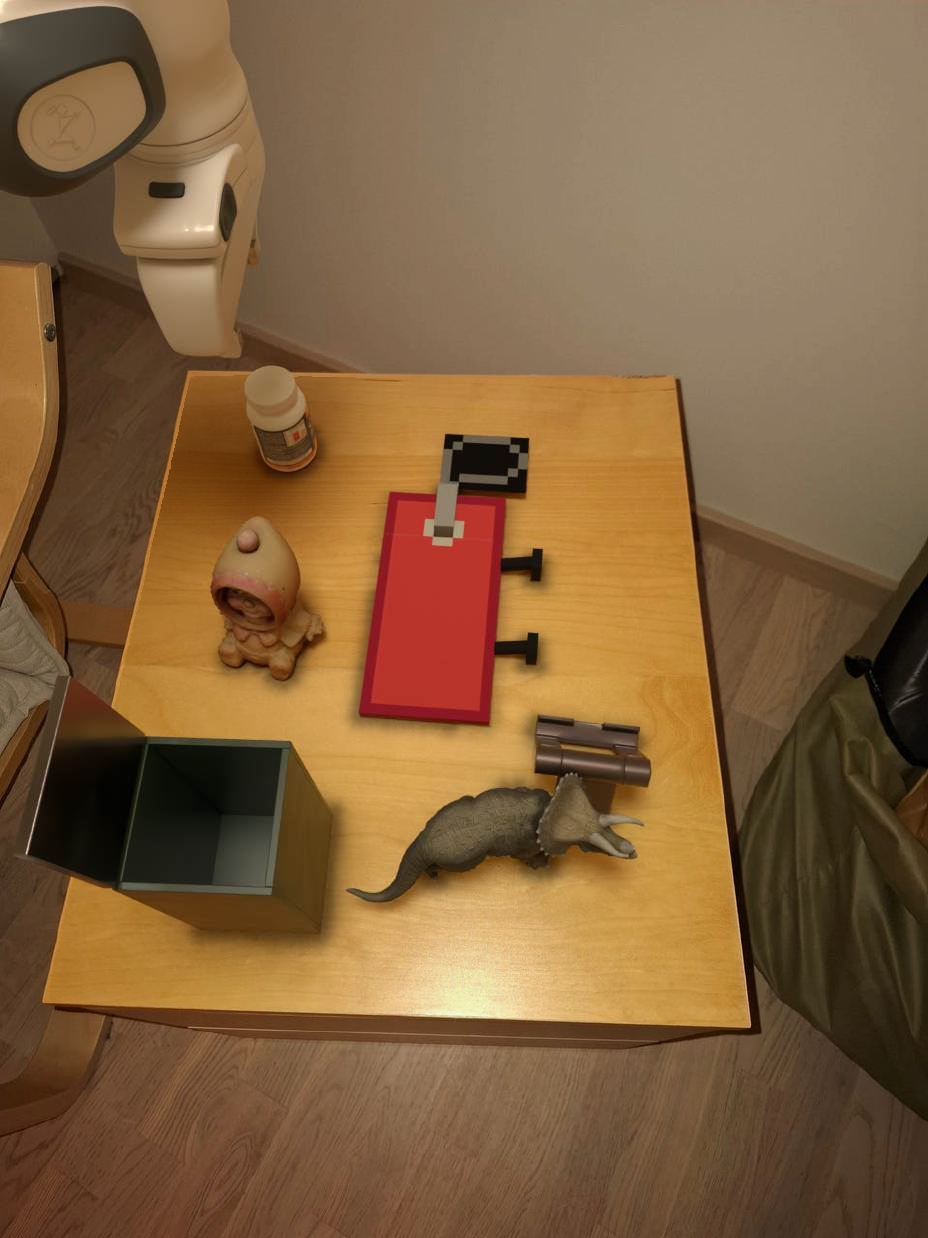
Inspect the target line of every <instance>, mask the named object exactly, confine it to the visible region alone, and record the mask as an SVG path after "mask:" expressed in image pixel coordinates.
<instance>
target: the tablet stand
mask: <svg viewBox="0 0 928 1238" xmlns="http://www.w3.org/2000/svg"><path fill="white" fill-rule="evenodd" d="M640 731H641V726H638V725H637V726H636V725H628V724H620V723H612V722H603V723H597V722H590V721H589V722H588V721H581V720H575V719H574V718H572V717H563V716H555V715H548V714H537V717H536V723H535V733H534V742H535V746H536V748H535V758H534V767H533V774H536V775H545V776H551V777H556V780H555V786H554V791H553V793H554V792H555V789H556V787H557V786H558V783H559V781H560V779H561V778H563V777H564V776H565V775H566V774H568V775H569V774H570V773H573V774H574V775H575V774H576V773H577V775H578V777H579V778H580V777H582V782H583V784H584V785H586V792H587V794H588V795H589V796H590V797H591V798H592V799H591V801H590V803H591V805H592V807H593V808H594V809H595V810H596V811H597V812H598V813H602V814H604V815H605V814H610V813H611V809H612V806H613V801H614V797H615V794H616V789H617V786H618V785H623V786H630V787H639V788H646V789H647V788H648V787H649V785H650V781H651V778H652V773H653V771H652V762H651V759H650V758H648V756H647V755H646V754H645V753H643V752H642V751H640V750H639V748H638V740H639V733H640ZM561 743H564V744H566V743H567V744H573V745H582V746H589V747H597V748H604V749H605V748H606V749H612V750H614V751H615V752H616V753H617V754H618V755H616V754H610V753H601V752H594V751H586V750H579V749H578V750H577V749H570V748H563V747H562V745H561Z"/></svg>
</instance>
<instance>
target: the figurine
mask: <svg viewBox="0 0 928 1238" xmlns="http://www.w3.org/2000/svg"><path fill="white" fill-rule="evenodd" d="M297 559H298V558H297V557H296V554H295V553H294V550H293V549H292V547H291V545H290V544H289V543H288V541H287V539H285V536H284V535H282V533H281V532H280V531H279V529H278V528H277V527H276V526H275V525H274V524H273V523H272V521H270V520H269V519H267V518H265V517H263V516H257V515H256V516H252V517H250V518H249V519H248V520H246V521H244V523H243V524H241V525H240V527H239V528H238V529H237V530H236V531H235V532H234V533H233V534H232V536H231V538H230V539H229V540H228V542H227V544H226V545H225V547H224V548H223V551H222V552H221V553H220V555H218V557H217V559H216V562H215V564H214V568H213V571H212V572H211V576H212V578H211V582H210V585H209V588H210V593H211V598H212V600H213V603H214V606H216V608H217V609H218V610H219V615H221V616H224V617H226V619H225V620H224V625H223V629H225V631H226V635H225V637H223V638H222V642H221V643H220V644H219V646H218V649H217V654H218V657H219V659H220V660H221V661H222V662H223V663H224V664H226V665H227V666H228V667H231V668H237V667H241V666H243V665H245V664H247V663H246V662H247V661H250V662H252V663H254V664H257V665H263V666H268V671H269V673H270V675H271V676H272V677H273V678H274V679H275V680H276V681H280V682H284V681H286V680H287V679H289V677H291V675H292V673H293V671H294V668H295V666H296V664H297V658H298V656H299V655H300V654H301V652H302V650H303V646H304V643H305V642H306V641H309V642H312V641H314V638H315V637H316V636H321V635H322V634H323V632H324V629H325V627H324V622H323V620H321V619H322V616H321V615H319V614H315V613H314V614H311V613H309V612H308V611H305V609H304V607H303V605H302V604H301V602H300V600H299V599H298V598H297V594H298V592H299V590H300V587H301V583H302V580H301V570H300V565H299V562H298V560H297Z"/></svg>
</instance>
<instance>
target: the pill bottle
mask: <svg viewBox="0 0 928 1238" xmlns="http://www.w3.org/2000/svg"><path fill="white" fill-rule="evenodd" d="M243 391H244V396H245V398H246V405H245V411H246V416H247V420H248V423H249V425H250V428H251V431H252V433H253V436H254V439H255V441H256V445H257V448H258V450H259V452H260V455H261V457H262V459H263V462H264V463H266V465H267V466H269V467H270V468H271V469H273V470H276V471H279V472H285V473H289V472H290V473H291V472H295V471H299V470H301V469H303V468H305V467H306V466H308V465H309V464H310V463H311V462H312V461H313V460H314V458H315V456H316V454H317V450H318V441H317V437H316V433H315V429H314V425H313V421H312V418H311V415H310V411H309V408H308V404H307V400H306V396H305V394H304V392H303V391H302V390H301V389H300V387H298V386H297V383H296V380H295V377H294V375H293V374H292V373H291V372H290V371H289V370H288V369H286V368H285V367H282V366H279V365H266V366H265V365H264V366H262V367H260V368H257V369H255V370H254V371H252V372H251V373H250V374H249V375H248V376H247V377H246V379H245V381H244V386H243Z"/></svg>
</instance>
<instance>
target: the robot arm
mask: <svg viewBox="0 0 928 1238" xmlns="http://www.w3.org/2000/svg"><path fill="white" fill-rule="evenodd" d="M230 35H231V14H230V8H229V3H228V0H0V191H2V192H5V193H8V194H10V195H14V196H18V197H25V198H48V197H54V196H57V195H61V194H62V195H63V194H65V193H68V192H70V191H73V190H75V189H77V188H79V187H81V186H83V185H84V184H86V183H87V182H89V181H90V180H92V179H93V178H95V177H96V176H98V175H99V174H101V173H102V172H104V171H105V170H106V169H108V168H109V167H111V166H112V165H113V166H114V167H113V168H114V183H115V184H114V185H115V186H114V208H113V209H114V211H113V228H112V229H113V234H114V238H115V240H116V243H117V245H118V247H119V249H120V251H121V253H122V254H123V255H125V256H130V257H136V268H137V274H138V278H139V282H140V285H141V288H142V291H143V293H144V296H145V298H146V300H147V302H148V305H149V307H150V309H151V311H152V313H153V316H154V318H155V320H156V322H157V324H158V326H159V328H160V330H161V332H162V334H163V336H164V338H165V339H166V342H167V343H168V345H169V346H170V348H171V349H172V350H173V351H174V352H175V353H178V354H180V355H183V356H184V355H185V356H189V357H220V358H223V359H239V358H240V357H242V351H243V346H244V337H243V336H242V331H241V328H240V326H235V323H236V318H237V313H238V307H239V303H240V299H241V293H242V289H243V283H244V278H245V273H246V268H247V265H250V266H257V265H258V264H259V260H260V256H261V253H262V252H261V251H262V247H261V243H260V239H259V236H258V232H259V231H258V208H259V203H260V198H261V193H262V189H263V183H264V178H265V173H266V153H265V146H264V142H263V138H262V135H261V131H260V128H259V125H258V122H257V121H258V120H257V118H256V115H255V112H254V107H253V103H252V98H251V95H250V91H249V87H248V82H247V79H246V76H245V74H244V71H243V69H242V66H241V65H240V63H239V61H238V60H237V58H236V56H235V54H234V50H233V49H232V45H231V36H230Z"/></svg>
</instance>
